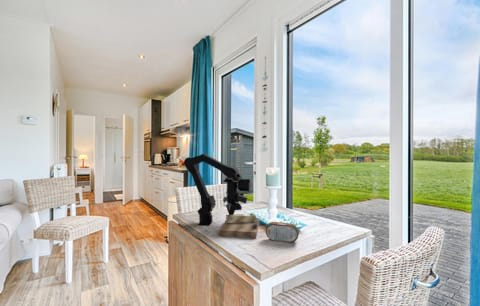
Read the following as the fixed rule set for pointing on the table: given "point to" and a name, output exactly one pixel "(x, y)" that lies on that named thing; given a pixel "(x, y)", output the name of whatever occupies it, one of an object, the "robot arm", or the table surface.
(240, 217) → the stool leg
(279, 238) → the retro speaker
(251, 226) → the stool seat
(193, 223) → the table surface
